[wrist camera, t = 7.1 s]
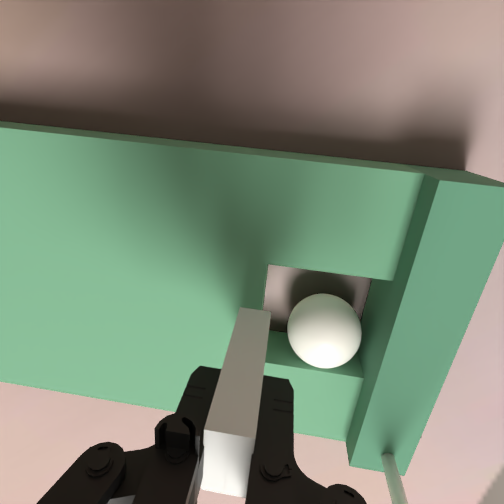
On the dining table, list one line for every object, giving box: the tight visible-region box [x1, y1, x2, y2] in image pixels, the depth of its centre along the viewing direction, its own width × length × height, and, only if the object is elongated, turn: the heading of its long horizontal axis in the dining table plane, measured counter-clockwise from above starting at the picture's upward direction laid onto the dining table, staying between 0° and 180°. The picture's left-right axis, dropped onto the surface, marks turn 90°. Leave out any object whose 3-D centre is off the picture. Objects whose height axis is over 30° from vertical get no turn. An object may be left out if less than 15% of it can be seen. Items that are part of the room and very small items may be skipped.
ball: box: [287, 294, 362, 368], centre depth 18 cm, size 4×4×4 cm
